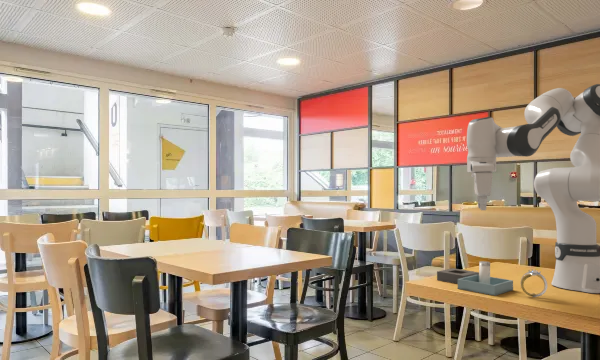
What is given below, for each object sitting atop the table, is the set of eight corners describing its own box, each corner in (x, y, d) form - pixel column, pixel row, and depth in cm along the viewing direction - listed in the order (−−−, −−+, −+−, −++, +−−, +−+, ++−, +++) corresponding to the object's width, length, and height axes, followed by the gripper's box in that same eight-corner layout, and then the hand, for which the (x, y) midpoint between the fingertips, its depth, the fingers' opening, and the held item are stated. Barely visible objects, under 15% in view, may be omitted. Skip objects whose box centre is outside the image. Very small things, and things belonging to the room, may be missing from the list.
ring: (546, 297, 132) (546, 269, 132) (548, 299, 129) (548, 271, 129) (520, 294, 134) (520, 268, 134) (521, 297, 131) (521, 269, 131)
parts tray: (476, 283, 150) (476, 274, 150) (513, 290, 141) (513, 280, 141) (457, 288, 142) (457, 279, 142) (494, 295, 133) (494, 285, 133)
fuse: (488, 286, 143) (488, 261, 143) (491, 288, 140) (491, 263, 140) (477, 286, 143) (477, 261, 143) (481, 288, 140) (481, 262, 140)
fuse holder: (452, 276, 162) (452, 268, 162) (479, 281, 154) (479, 272, 154) (437, 280, 155) (437, 271, 155) (463, 284, 148) (463, 275, 148)
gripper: (469, 168, 157) (470, 207, 157) (472, 166, 138) (473, 211, 137) (489, 167, 155) (490, 207, 155) (494, 165, 136) (495, 211, 135)
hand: (482, 209), depth 146 cm, fingers open, 8 cm apart
